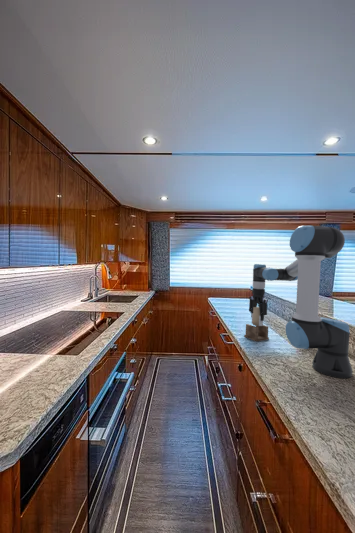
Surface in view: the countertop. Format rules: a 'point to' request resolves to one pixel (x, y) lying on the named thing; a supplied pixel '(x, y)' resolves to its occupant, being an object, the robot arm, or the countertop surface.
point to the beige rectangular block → (256, 316)
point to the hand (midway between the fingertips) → (257, 324)
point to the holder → (257, 332)
